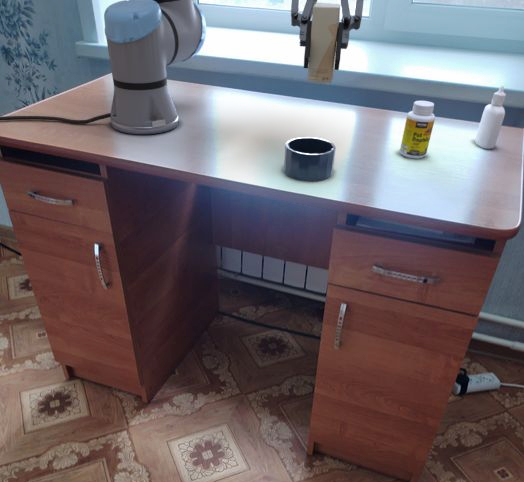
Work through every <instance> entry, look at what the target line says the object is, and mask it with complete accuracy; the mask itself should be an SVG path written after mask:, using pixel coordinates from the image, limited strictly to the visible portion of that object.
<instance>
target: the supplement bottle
mask: <svg viewBox="0 0 524 482" xmlns="http://www.w3.org/2000/svg"><path fill="white" fill-rule="evenodd" d="M434 108H435V103H434V102H432V101H428V100H415V101H414V102H413V106H412V110H410V111H408V112H407V115H406V120H405V124H404V130H403V134H402V139H401V142H400V148H399V153H400V154H401V156H403V157H405V158H409V159H421V158H424V157H425V156H426V155H427V153H428V149H429V145H430V144H429V143H430V140H431V136H432V132H433V129H434V124H435V121H436V116H435V114H434V113H433V112H434Z"/></svg>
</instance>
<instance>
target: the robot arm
mask: <svg viewBox="0 0 524 482" xmlns="http://www.w3.org/2000/svg"><path fill="white" fill-rule="evenodd" d="M300 2H301V0H291V7H290V25H291V26H292V27H298V28H299V36H298V44H299V47H304V53H303V55H304V56H303V69H308V66H309V53H310V40H311V27H312V15H313V6H314V5H315V4H316V3H318V0H306V1H305V4H304V8H303V10H302V13H301V12H300ZM337 4H340V5H341V6H340V15H339V25H338V33H337V43H336V53H335V62H334V71H340V70H339V69H340V62H341V54H342V50H347V49H348V47H349V41H350V33H351V31H352V30H355V31H358V30H359V29H360V28H361V23H362V19H363V9H364V0H355V3H354V13H353V15H351V12H350V5H349V0H337ZM103 13H104V14H103V21H104V34H105V35H104V36H105V39H106V44H107V50H108V57H109V64H110V70H111V76H112V83H113V95H112V101H111V109H110V112H109V113H105V114H101V115H96V116H93V117H90V118H88V119H87V118H86V119H72V118H67V117H66V118H65V117H59V116H47V115H8V116H7V115H6V116H0V121H17V120H18V121H21V120H22V121H24V120H31V121H32V120H33V121H35V120H36V121H54V122H55V121H56V122H63V123H67V124H74V125H75V124H76V125H83V124H84V125H86V124H91V123H94V122H97V121H100V120H105V119H108V118H110V123H111V124H110V125H111V127H112V128H113V129H114V130H116V131H118V132H120V133H125V134H131V135H154V134H155V135H156V134H160V133H165V132H168V131H171V130H173V129H175V128H177V127H178V125H179V115H178V111H177V109H176V107H175V104H174V101H173V98H172V96H171V93H170V90H169V87H168V77H167V67H168V66H171V65H174V64H176V63H179V62H180V63H181V62H186V61H188V60H190V59H191V58H193V57H194V56H196V55H197V54H198V53H199V52H200V51H201V49H202V48H203V46H204V44H205V41H206V38H207V37H206V36H207V22H206V19H205V15H204V13H203V11H202V9H201V8H199V6H198V4H197V3H196V2H194V0H119V1H117V2H114V3H112V4H110V5H108V6H107V7H106V8H105V10H104V12H103Z"/></svg>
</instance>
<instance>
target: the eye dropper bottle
mask: <svg viewBox="0 0 524 482" xmlns="http://www.w3.org/2000/svg"><path fill="white" fill-rule="evenodd" d="M506 97H507V93H506V92H505V86H503V85H501V86H500V87H499V89H498V91H495V92H494V93H493V95H492V98H491V102H490V103H488V104H487V105H485V107H484V109H483V112H482V115H481V119H480V122H479V125H478V129H477V131H476V132H477V133H476V135H475V138H474V142H475V144H476V145H477V146H478V147H479V148H482V149H485V150H491V149H492V150H493V149H495V146H496V144H497V140H498V137H499V134H500V132H501V129H502V125H503V122H504V119H505V117H506V116H505V115H506V110H505V107H504V106H503V105H504V103H505V99H506Z"/></svg>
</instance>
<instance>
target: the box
mask: <svg viewBox="0 0 524 482" xmlns="http://www.w3.org/2000/svg"><path fill="white" fill-rule="evenodd" d="M340 6H341V5H340V4H338V3H332V2H331V3H330V2H329V3H328V2H317V3H316V4H315V5H314V6H313V14H312V17H311V21H312V27H311V40H310V53H309V65H308V68H307V83H308V82H309V83H322V84H332V81H333V79H334V71H335V70H334V66H335V55H336V44H337V33H338V25H339V22H340Z"/></svg>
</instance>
